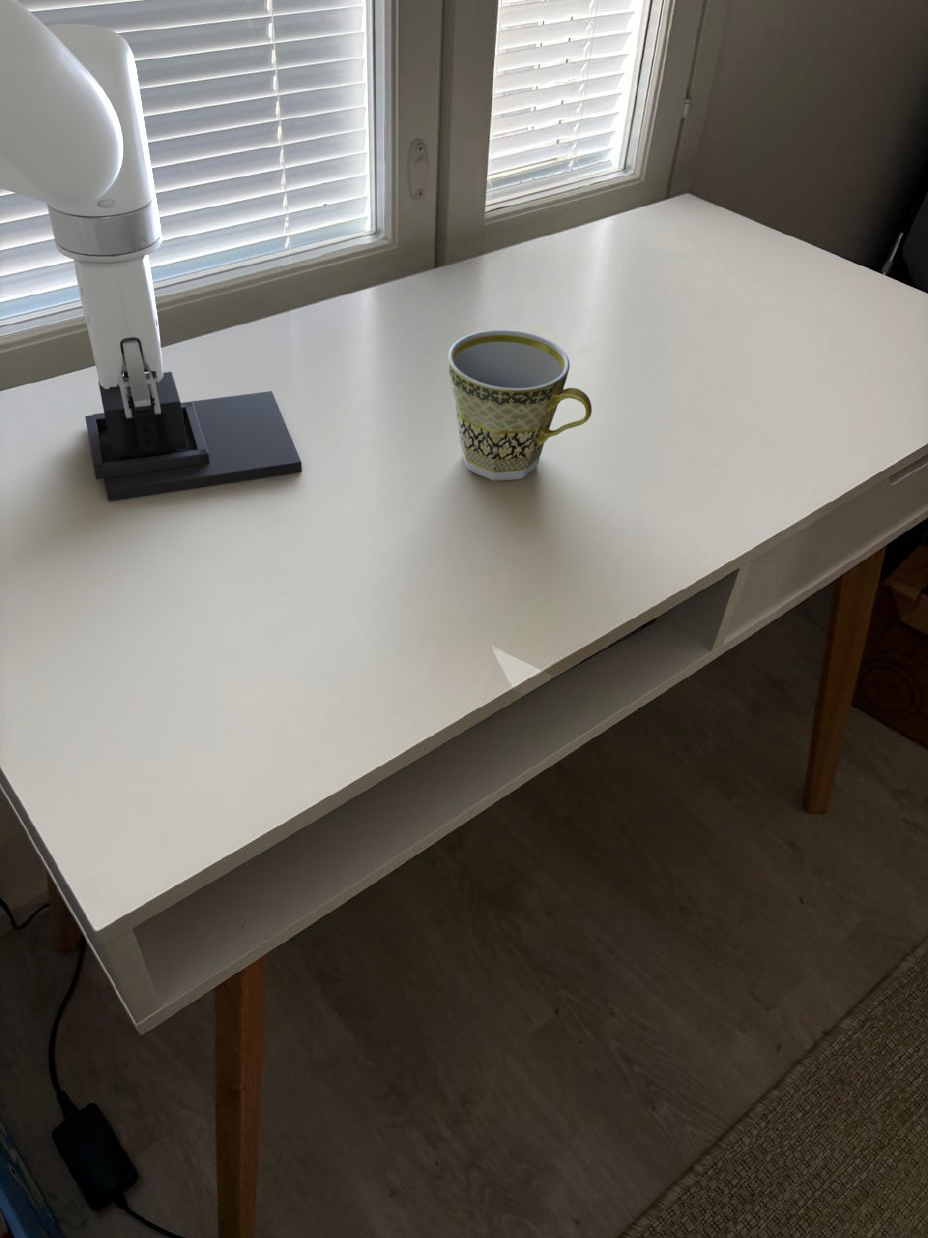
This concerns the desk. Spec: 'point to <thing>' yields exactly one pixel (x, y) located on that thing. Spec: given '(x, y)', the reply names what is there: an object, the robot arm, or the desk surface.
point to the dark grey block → (167, 402)
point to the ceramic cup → (508, 399)
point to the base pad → (202, 449)
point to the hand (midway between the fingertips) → (145, 433)
